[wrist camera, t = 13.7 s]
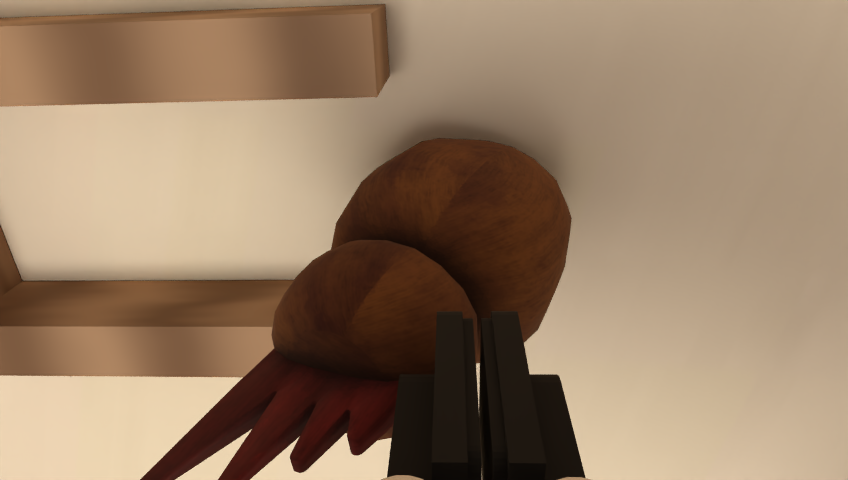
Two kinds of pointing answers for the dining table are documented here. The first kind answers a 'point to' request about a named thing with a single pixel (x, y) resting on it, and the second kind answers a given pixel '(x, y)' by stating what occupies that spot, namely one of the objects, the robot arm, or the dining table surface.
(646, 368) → the dining table surface
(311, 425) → the wooden figurine
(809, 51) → the dining table surface
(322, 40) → the u rest
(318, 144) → the dining table surface
